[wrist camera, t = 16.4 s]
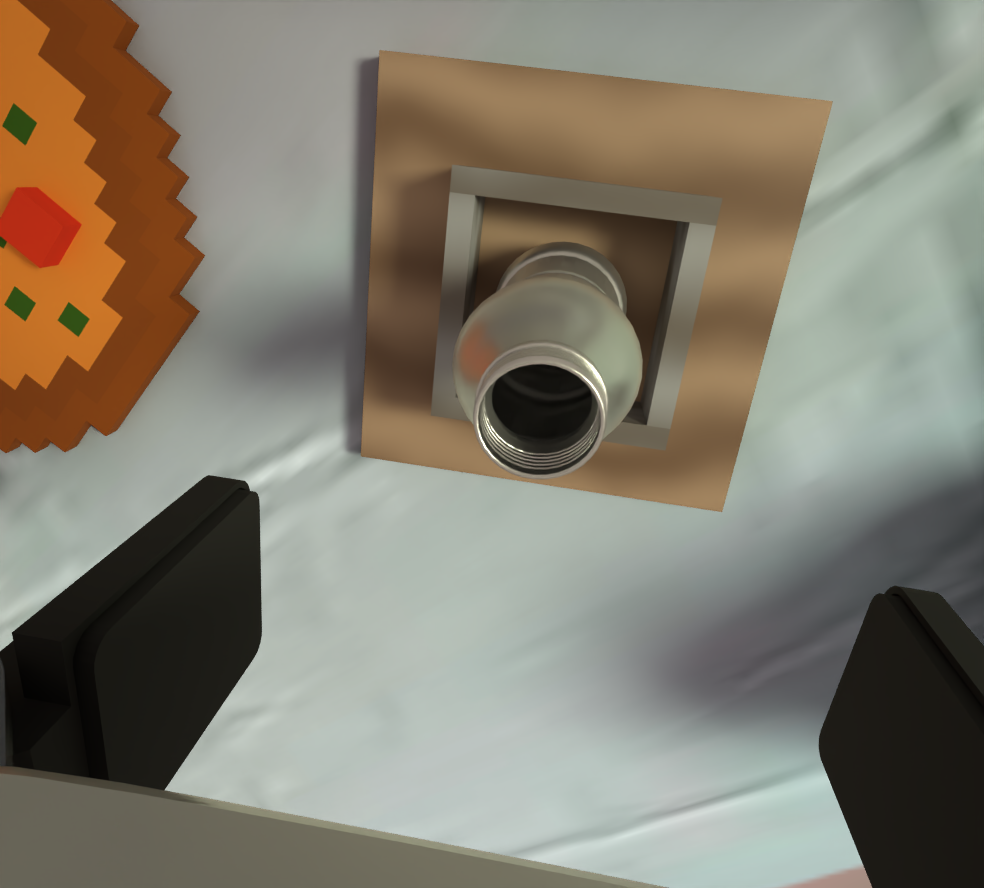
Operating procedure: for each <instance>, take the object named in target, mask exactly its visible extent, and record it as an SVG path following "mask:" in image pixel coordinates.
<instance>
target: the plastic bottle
mask: <svg viewBox="0 0 984 888" xmlns="http://www.w3.org/2000/svg"><path fill="white" fill-rule="evenodd" d="M626 311H627V297H626V292H625V286H624V284H623V282H622V279H621V277H620V274H619V273H618V272H617V270H616V269H615V267H614V266H613V264H612V263H611V262H610V261H609V260H608V259H607V258H605V257H604V256H603V255H602V254H600V253H599V252H597V251H596V250H594V249H592V248H590V247H587V246H585V245H582V244H579V243H572V242H551V243H547V244H542V245H539V246H537V247H534V248H532V249H530V250H528V251H526V252H525V253H523V254H522V255H521V256H519V257H518V258H516V260H515V261H514V262H513V263H512V264H511V265H510V266H509V267H508V268H507V270H506V271H505V273H504V274H503V276H502V278H501V279H500V282H499V285H498V287H497V290H496V293H494V294H493V295H491V296H490V297H489V298H487V299H486V300H484V301H483V302H482V303H481V304H480V305H479V306H478V307H477V308H476V309H475V310H474V311H473V312H472V314H471V315H470V316H469V318H468V319H467V321H466V322H465V324H464V326H463V327H462V329H461V331H460V333H459V336H458V339H457V342H456V344H455V348H454V355H453V362H452V369H453V382H454V385H455V389H456V392H457V396H458V399H459V401H460V404H461V406H462V407H463V409H464V411H465V413H466V415H467V417H468V419H469V420H470V421H471V422H472V424H473V425H474V430H475V434H476V437H477V440H478V442H479V444H480V446H481V448H482V450H483V451H484V452H485V454H486V455H487V456H488V457H489V459H490V460H492V461H493V462H494V463H495V464H496V465H497V466H499V467H500V468H502V469H504V470H505V471H507V472H509V473H511V474H514V475H517V476H519V477H523V478H529V479H552V478H558V477H561V476H564V475H567V474H569V473H571V472H573V471H575V470H577V469H578V468H580V467H582V466H583V465H584V464H585V463H586V462H587V461H588V460H590V459H591V457H592V456H593V455H594V453H595V452H596V451H597V450H598V448H599V446H600V443H601V441H602V440H603V439H604V438H605V437H606V436H607V435H608V434H610V433H611V432H612V431H613V430H614V429H615V428H616V427H617V426H618V425H619V424H620V423H621V422H622V420H623V419H624V418H625V416H626V415H627V414H628V412H629V411H630V409H631V407H632V405H633V403H634V401H635V399H636V397H637V395H638V391H639V388H640V384H641V380H642V363H643V359H642V354H641V349H640V343H639V340H638V338H637V336H636V333H635V331H634V328H633V326H632V324H631V323H630V321H629V320H628V318H627V317H626Z"/></svg>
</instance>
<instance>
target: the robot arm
mask: <svg viewBox="0 0 984 888" xmlns="http://www.w3.org/2000/svg"><path fill="white" fill-rule="evenodd" d="M12 636H13V641H12V642H11V643H10V644H9V645H8V646H6V647H5V648H4V649H3V650H1V651H0V888H667V887H662V886H657V885H652V884H647V883H642V882H637V881H632V880H627V879H622V878H617V877H612V876H607V875H602V874H597V873H592V872H586V871H581V870H576V869H571V868H566V867H561V866H556V865H551V864H546V863H541V862H536V861H531V860H526V859H521V858H515V857H510V856H505V855H500V854H495V853H490V852H485V851H480V850H475V849H470V848H464V847H459V846H454V845H449V844H444V843H439V842H434V841H429V840H424V839H419V838H413V837H408V836H403V835H398V834H392V833H387V832H382V831H377V830H371V829H366V828H361V827H356V826H350V825H345V824H340V823H335V822H329V821H324V820H319V819H314V818H309V817H303V816H298V815H293V814H288V813H282V812H277V811H272V810H267V809H261V808H256V807H251V806H246V805H240V804H235V803H230V802H225V801H219V800H214V799H209V798H203V797H198V796H192V795H187V794H181V793H176V792H170V791H165V788H166V787H167V785H168V784H169V783H170V781H171V780H172V778H173V777H174V775H175V774H176V772H177V771H178V769H179V768H180V766H181V765H182V763H183V762H184V760H185V759H186V757H187V756H188V755H189V753H190V752H191V750H192V749H193V747H194V746H195V744H196V743H197V741H198V740H199V738H200V737H201V735H202V734H203V732H204V731H205V729H206V728H207V726H208V725H209V724H210V722H211V721H212V719H213V718H214V716H215V715H216V713H217V712H218V710H219V709H220V707H221V706H222V704H223V703H224V701H225V700H226V698H227V697H228V696H229V694H230V693H231V691H232V690H233V688H234V687H235V685H236V684H237V682H238V681H239V679H240V678H241V676H242V675H243V673H244V672H245V670H246V669H247V667H248V666H249V665H250V663H251V662H252V660H253V659H254V657H255V655H256V653H257V651H258V649H259V645H260V642H261V636H262V614H261V560H260V505H259V497H258V494H257V493H256V492H253V491H250V489H249V486H248V484H247V483H246V482H245V481H242V480H236V479H229V478H223V477H217V476H210V475H208V476H206V477H204V478H203V479H202V480H200V481H199V482H198V483H197V484H195V485H194V486H193V487H192V488H190V489H189V490H188V491H187V492H186V493H184V494H183V495H182V496H181V497H179V498H178V499H177V500H176V501H174V502H173V503H172V504H171V505H169V506H168V507H167V508H166V509H164V510H163V511H162V512H161V513H160V514H158V515H157V516H156V517H155V518H153V519H152V520H151V521H150V522H148V523H147V524H146V525H145V526H143V527H142V528H141V529H140V530H138V531H137V532H136V533H135V534H134V535H132V536H131V537H130V538H129V539H127V540H126V541H125V542H124V543H122V544H121V545H120V546H119V547H117V548H116V549H115V550H114V551H112V552H111V553H110V554H109V555H108V556H106V557H105V558H104V559H103V560H101V561H100V562H99V563H98V564H96V565H95V566H94V567H93V568H91V569H90V570H89V571H88V572H86V573H85V574H84V575H83V576H82V577H80V578H79V579H78V580H77V581H75V582H74V583H73V584H72V585H70V586H69V587H68V588H67V589H65V590H64V591H63V592H62V593H60V594H59V595H58V596H57V597H55V598H54V599H53V600H52V601H51V602H49V603H48V604H47V605H46V606H44V607H43V608H42V609H41V610H39V611H38V612H37V613H36V614H34V615H33V616H32V617H31V618H29V619H28V620H27V621H26V622H25V623H23V624H22V625H21V626H20V627H18V628H17V629H16V630H15V631H13V632H12ZM819 753H820V757H821V761H822V763H823V766H824V768H825V771H826V773H827V776H828V778H829V781H830V783H831V786H832V788H833V791H834V793H835V796H836V798H837V801H838V803H839V805H840V808H841V810H842V813H843V815H844V818H845V820H846V823H847V825H848V828H849V830H850V833H851V835H852V838H853V840H854V843H855V845H856V848H857V850H858V853H859V855H860V858H861V860H862V863H863V865H864V868H865V870H866V873H867V875H868V878H869V880H870V883H871V885H872V888H984V646H983V645H982V643H981V642H980V641H979V640H978V639H977V638H976V636H975V635H974V634H973V633H972V632H971V630H970V629H969V628H968V627H967V626H966V624H965V623H964V622H963V621H962V620H961V618H960V617H959V616H958V615H957V614H956V612H955V611H954V610H953V609H952V608H951V607H950V605H949V604H948V603H947V602H946V601H945V599H944V598H943V597H942V596H941V595H939V594H938V593H935V592H929V591H923V590H917V589H911V588H905V587H898V586H893V587H891V588H889V589H888V590H887V591H886V592H885V594H880V593H879V594H877V595H875V596H874V598H873V599H872V601H871V603H870V606H869V608H868V611H867V613H866V616H865V618H864V621H863V624H862V626H861V629H860V631H859V634H858V636H857V639H856V642H855V644H854V647H853V649H852V652H851V654H850V657H849V660H848V662H847V665H846V667H845V670H844V673H843V675H842V678H841V680H840V683H839V685H838V688H837V691H836V693H835V696H834V698H833V701H832V703H831V706H830V709H829V711H828V714H827V716H826V719H825V721H824V724H823V727H822V729H821V732H820V736H819Z"/></svg>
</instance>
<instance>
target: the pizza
mask: <svg viewBox="0 0 984 888" xmlns="http://www.w3.org/2000/svg"><path fill="white" fill-rule="evenodd" d="M138 27H139V25H138V24H137V23H136V22H134V21H133V20H132V19H131V18H130V17H129V16H128V15H127V14H126V13H125V12H123V11H122V10H121V9H120V8H119V7H118V6H117V5H116V4H115V3H113V2H112V1H111V0H0V449H1V450H2V451H4V452H5V453H8V452H10V451H12V450H14V449H16V448H18V447H19V446H20V445H21V443H23V444H24V445H26V446H27V447H28V448H30V449H31V450H32V451H33V452H35V453H36V452H38V451H40V450H42V449H44V448H46V447H48V445H49V444H50V442H52V443H53V444H55V445H56V446H57V447H58V448H60V449H61V450H62V451H64V452H67V451H69V450H70V449H72V448H74V447H76V446H77V445H78V444H79V442H80V441H81V439H82V438H83V436H84V435H85V433H86V432H87V430H88V429H89V427H90V426H91V425H92V426H93V427H95V428H96V429H97V430H98V431H100V432H101V433H102V434H104V435H105V436H107V435H109V434H111V433H113V432H115V431H116V430H117V429H118V428H119V427H120V425H121V424H122V422H123V421H124V419H125V418H126V417H127V415H128V414H129V412H130V411H131V409H132V408H133V406H134V405H135V404H136V402H137V401H138V399H139V398H140V396H141V395H142V394H143V392H144V391H145V389H146V388H147V386H148V385H149V383H150V382H151V381H152V379H153V378H154V376H155V375H156V373H157V372H158V371H159V369H160V368H161V366H162V365H163V363H164V362H165V360H166V359H167V358H168V356H169V355H170V353H171V352H172V350H173V349H174V347H175V346H176V345H177V343H178V342H179V340H180V339H181V337H182V336H183V335H184V333H185V332H186V330H187V329H188V327H189V326H190V324H191V323H192V322H193V320H194V319H195V317H196V316H197V314H198V313H199V312H200V311H199V310H197V309H196V308H195V307H194V306H193V305H191V304H190V303H189V302H188V301H187V300H185V299H184V298H183V297H182V296H181V295H180V292H181V291H182V289H183V288H184V286H185V285H186V283H187V282H188V280H189V279H190V277H191V276H192V274H193V273H194V271H195V270H196V268H197V267H198V265H199V264H200V262H201V261H202V259H203V258H204V256H205V255H204V254H203V253H201V252H200V251H199V250H198V249H197V248H196V247H194V246H193V245H192V244H191V243H190V242H189V241H187V240H186V239H185V238H184V237H185V235H186V234H187V232H188V231H189V229H190V228H191V226H192V224H193V223H194V221H195V220H196V218H197V216H195V215H194V214H193V213H192V212H191V211H190V210H188V209H187V208H186V207H185V206H184V205H183V204H182V203H180V202H179V201H178V200H177V199H176V197H177V196H178V194H179V192H180V191H181V189H182V188H183V186H184V185H185V183H186V181H187V180H188V178H189V177H188V176H187V175H186V174H185V173H184V172H183V171H182V170H180V169H179V168H178V167H177V166H176V165H175V164H174V163H172V162H171V161H170V160H169V159H168V158H167V157H168V156H169V154H170V152H171V151H172V149H173V147H174V146H175V144H176V142H177V141H178V139H179V138H180V136H181V135H180V134H178V133H177V132H176V131H175V130H174V129H173V128H172V127H171V126H169V125H168V124H167V123H166V122H165V121H164V120H163V119H161V118H160V117H159V116H158V115H159V113H160V112H161V110H162V108H163V107H164V105H165V103H166V101H167V100H168V98H169V96H170V95H171V93H172V92H171V91H170V90H169V89H168V88H167V87H166V86H164V85H163V84H162V83H161V82H160V81H159V80H158V79H157V78H155V77H154V76H153V75H152V74H151V73H150V72H149V71H148V70H147V69H145V68H144V67H143V66H142V65H141V64H140V63H139V62H138V61H136V60H135V59H134V58H133V57H132V56H131V55H130V54H129V53H127V52H126V49H127V47H128V45H129V43H130V42H131V40H132V38H133V36H134V34H135V32H136V31H137V29H138Z"/></svg>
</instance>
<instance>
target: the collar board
mask: <svg viewBox="0 0 984 888" xmlns="http://www.w3.org/2000/svg"><path fill="white" fill-rule="evenodd" d="M832 102H833V101H825V100H816V99H807V98H798V97H790V96H781V95H772V94H763V93H754V92H745V91H737V90H728V89H719V88H710V87H701V86H692V85H683V84H675V83H666V82H657V81H648V80H639V79H630V78H622V77H613V76H604V75H595V74H586V73H577V72H569V71H560V70H551V69H542V68H533V67H524V66H515V65H507V64H498V63H489V62H480V61H471V60H462V59H454V58H445V57H436V56H427V55H418V54H409V53H401V52H392V51H383V50H380V51H379V73H378V94H377V116H376V138H375V159H374V181H373V203H372V224H371V246H370V268H369V289H368V311H367V333H366V355H365V376H364V398H363V420H362V441H361V456H362V457H369V458H375V459H382V460H388V461H395V462H401V463H408V464H414V465H421V466H427V467H434V468H440V469H447V470H453V471H460V472H466V473H473V474H479V475H486V476H492V477H499V478H505V479H512V480H518V481H525V482H531V483H538V484H544V485H550V486H557V487H563V488H570V489H576V490H583V491H589V492H596V493H602V494H609V495H615V496H622V497H628V498H635V499H641V500H648V501H654V502H661V503H667V504H674V505H680V506H687V507H693V508H700V509H706V510H713V511H719V512H722V510H723V506H724V503H725V499H726V495H727V492H728V488H729V484H730V480H731V477H732V473H733V469H734V466H735V462H736V458H737V454H738V451H739V447H740V443H741V440H742V436H743V432H744V429H745V425H746V421H747V417H748V414H749V410H750V406H751V403H752V399H753V395H754V391H755V388H756V384H757V380H758V377H759V373H760V369H761V366H762V362H763V358H764V354H765V351H766V347H767V343H768V340H769V336H770V332H771V329H772V325H773V321H774V317H775V314H776V310H777V306H778V303H779V299H780V295H781V291H782V288H783V284H784V280H785V277H786V273H787V269H788V266H789V262H790V258H791V254H792V251H793V247H794V243H795V240H796V236H797V232H798V228H799V225H800V221H801V217H802V214H803V210H804V206H805V203H806V199H807V195H808V191H809V188H810V184H811V180H812V177H813V173H814V169H815V165H816V162H817V158H818V154H819V151H820V147H821V143H822V140H823V136H824V132H825V128H826V125H827V121H828V117H829V114H830V110H831V106H832ZM551 242H572V243H579V244H582V245H585V246H587V247H590V248H592V249H594V250H596V251H597V252H599V253H600V254H602V255H603V256H604V257H605V258H607V259H608V260H609V261H610V262H611V263H612V264H613V266H614V267H615V269H616V270H617V272H618V273H619V274H620V277H621V279H622V282H623V284H624V286H625V292H626V297H627V311H626V317H627V318H628V320H629V321H630V323H631V324H632V326H633V328H634V331H635V333H636V336H637V338H638V340H639V343H640V349H641V354H642V359H643V363H642V380H641V384H640V388H639V391H638V395H637V397H636V399H635V401H634V403H633V405H632V407H631V409H630V411H629V412H628V414H627V415H626V416H625V418H624V419H623V420H622V422H621V423H620V424H619V425H618V426H617V427H616V428H615V429H614V430H613V431H612V432H611V433H610V434H608V435H607V436H606V437H605V438H604V439H603V440H602V441H601V443H600V446H599V448H598V450H597V451H596V452H595V453H594V455H593V456H592V457H591V459H590V460H588V461H587V462H586V463H585V464H584V465H583V466H582V467H580V468H578V469H577V470H575V471H573V472H571V473H569V474H567V475H564V476H561V477H558V478H552V479H529V478H523V477H519V476H517V475H514V474H511V473H509V472H507V471H505V470H504V469H502V468H500V467H499V466H497V465H496V464H495V463H494V462H493V461H492V460H490V459H489V457H488V456H487V455H486V454H485V452H484V451H483V450H482V448H481V446H480V444H479V442H478V440H477V437H476V434H475V430H474V425H473V424H472V422H471V421H470V420H469V419H468V417H467V415H466V413H465V411H464V409H463V407H462V406H461V404H460V401H459V399H458V396H457V392H456V389H455V385H454V382H453V369H452V362H453V355H454V348H455V344H456V342H457V339H458V336H459V333H460V331H461V329H462V327H463V326H464V324H465V322H466V321H467V319H468V318H469V316H470V315H471V314H472V312H473V311H474V310H475V309H476V308H477V307H478V306H479V305H480V304H481V303H482V302H483V301H484V300H486V299H487V298H489V297H490V296H491V295H493V294H494V293H496V290H497V287H498V285H499V282H500V279H501V278H502V276H503V274H504V273H505V271H506V270H507V268H508V267H509V266H510V265H511V264H512V263H513V262H514V261H515V260H516V258H518V257H519V256H521V255H522V254H523V253H525V252H526V251H528V250H530V249H532V248H534V247H537V246H539V245H542V244H547V243H551Z"/></svg>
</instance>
